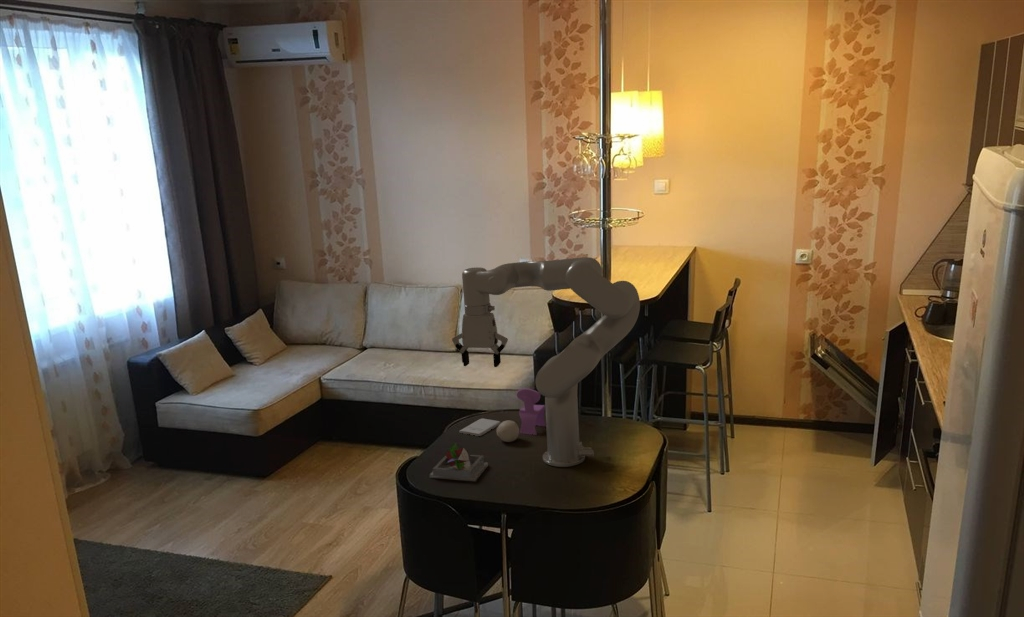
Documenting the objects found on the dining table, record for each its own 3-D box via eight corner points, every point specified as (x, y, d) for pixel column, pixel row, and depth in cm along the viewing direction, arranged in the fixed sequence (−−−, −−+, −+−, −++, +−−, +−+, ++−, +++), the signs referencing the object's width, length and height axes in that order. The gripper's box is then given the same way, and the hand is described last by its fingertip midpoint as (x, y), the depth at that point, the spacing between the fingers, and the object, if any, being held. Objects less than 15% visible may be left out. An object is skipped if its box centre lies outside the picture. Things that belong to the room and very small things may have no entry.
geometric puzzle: (435, 462, 227) (448, 443, 224) (446, 453, 233) (459, 435, 230) (454, 479, 226) (467, 460, 223) (465, 469, 232) (478, 450, 229)
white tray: (488, 465, 232) (487, 455, 231) (475, 481, 221) (474, 471, 220) (444, 462, 236) (443, 452, 235) (429, 478, 225) (428, 468, 225)
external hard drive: (500, 425, 265) (479, 438, 255) (480, 422, 269) (459, 434, 259) (500, 421, 265) (479, 433, 254) (480, 417, 269) (458, 429, 259)
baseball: (498, 437, 253) (497, 417, 252) (521, 437, 252) (519, 417, 251) (495, 445, 247) (493, 425, 246) (518, 445, 246) (516, 425, 244)
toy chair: (549, 425, 260) (547, 382, 257) (539, 435, 253) (537, 391, 250) (526, 423, 264) (524, 381, 261) (516, 432, 256) (513, 389, 253)
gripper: (509, 307, 232) (512, 362, 235) (454, 306, 237) (459, 361, 240) (501, 312, 225) (505, 370, 228) (445, 312, 230) (450, 368, 233)
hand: (481, 365), depth 234 cm, fingers open, 9 cm apart
